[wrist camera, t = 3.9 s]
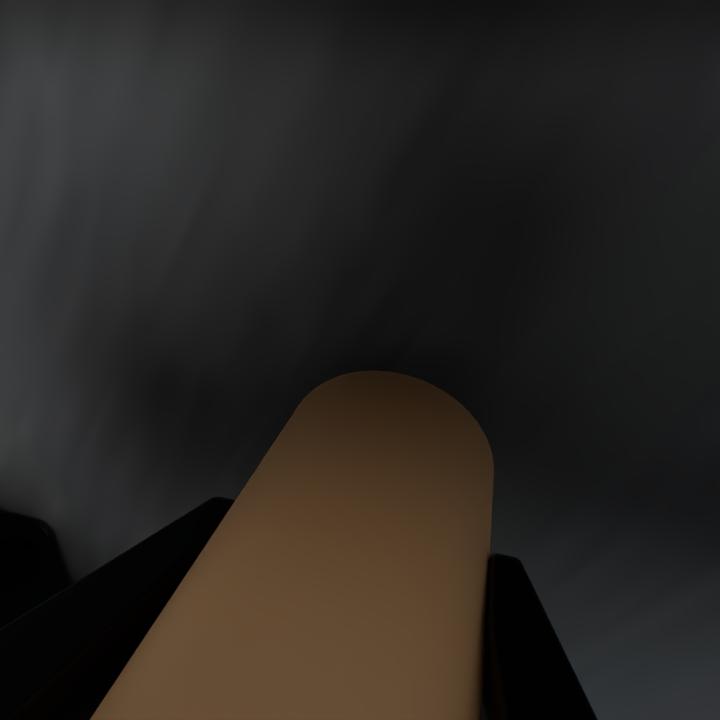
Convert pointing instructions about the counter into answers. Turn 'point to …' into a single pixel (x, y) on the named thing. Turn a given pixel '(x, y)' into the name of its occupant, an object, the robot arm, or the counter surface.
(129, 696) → the peg
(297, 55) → the counter surface
